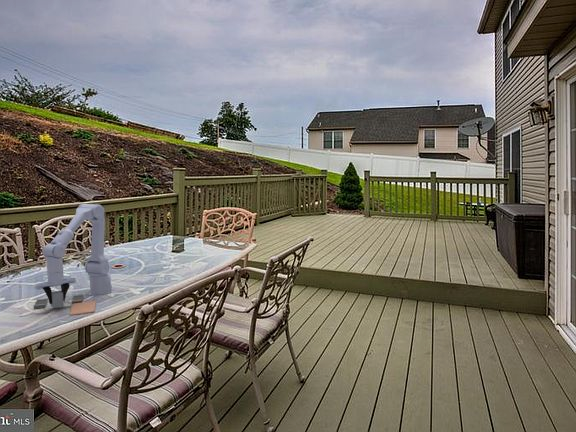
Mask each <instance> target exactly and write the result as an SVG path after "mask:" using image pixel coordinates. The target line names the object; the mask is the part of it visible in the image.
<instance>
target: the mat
mask: <svg viewBox="0 0 576 432" xmlns="http://www.w3.org/2000/svg"><path fill="white" fill-rule="evenodd" d="M96 303H97V301H96V300H91V301H84V302H82V303H74V304H73V305H72V304H71V309H70V312H69V316H70V317H71V316H79V315H85V314H93V313H95V311H96V305H97V304H96Z"/></svg>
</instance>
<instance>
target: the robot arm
mask: <svg viewBox="0 0 576 432" xmlns="http://www.w3.org/2000/svg"><path fill="white" fill-rule="evenodd" d="M85 221H89V222H91V226H92V227H91V248H90V256H88V257H87V258H86V263H85V265H84V271H85V272H86V273H87V276H89V292H88V296H98V295H106V294H112V293H111V292H112V288H113V287H112V282H111V281H112V280H111V279H112V278H111V273H109V271H110V263H109V259H108V258H107V256H105V255H104V252H105V234H106V233H105V232H106V229H105V228H106V218H105V208H104V207H103V206H102V205H101V204H97V203H96V204H93V203H84V202H83V203H80V204H79V206H78V207H77V208H75V214H74V216H73V217H72V219H71V220H70V221H69V223H68V224H67V226H66V228H64V229H61V230H59V231H58V232H57V234H56V236H55V237H54V238H53V239H52V240H51V241H50V243H47V244H46V245H45V246H44V247H43V249H42V251H41V253H42V255H43V256H44V259H45V261H46V272H47V274H46V275H47V281H44V282H41V283H40V282H39V283H35V284H34V288H35V291H36V290H40V289H42V290H43V292H44V293H45V295H46V298H48V303H49V305H51V304H52V292H53V291H52V287H57V286H60V290H61V291H62V292H63V301H64V302H65V301H66V295H67V293H68V291H69V289H70V286H71V285H70V284H76V283H77V281H76V277H71V278H64V277H65V276H64V264H63V263H64V262H63V257H64V256H65V254H66V250H67V247H68V245H69V244H70V243H71V241H72V240H73V239H74V237H75V236H74V233H75V232H76V231H77V230H78V228H79V227H80V226H81V225H82V224H83V222H85Z"/></svg>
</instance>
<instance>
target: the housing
mask: <svg viewBox="0 0 576 432" xmlns="http://www.w3.org/2000/svg"><path fill="white" fill-rule="evenodd" d="M83 301H84V294H74V295H73V297H72V299H71V306H72V305H73V304H74V303H82V302H83ZM48 303H49V299H48V297H46V298H38V299H36V301H35V302H34V304H33V310H39V309H45V308H46V307H47V304H48Z"/></svg>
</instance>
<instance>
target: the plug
mask: <svg viewBox="0 0 576 432" xmlns="http://www.w3.org/2000/svg"><path fill="white" fill-rule="evenodd" d="M64 303H65V301H63V292H62V291H61V289H60V290H56V291H55V290H54V291H52V304H50V306H51V307H50V308H52V309H56V308H61V307H65V304H64Z"/></svg>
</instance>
